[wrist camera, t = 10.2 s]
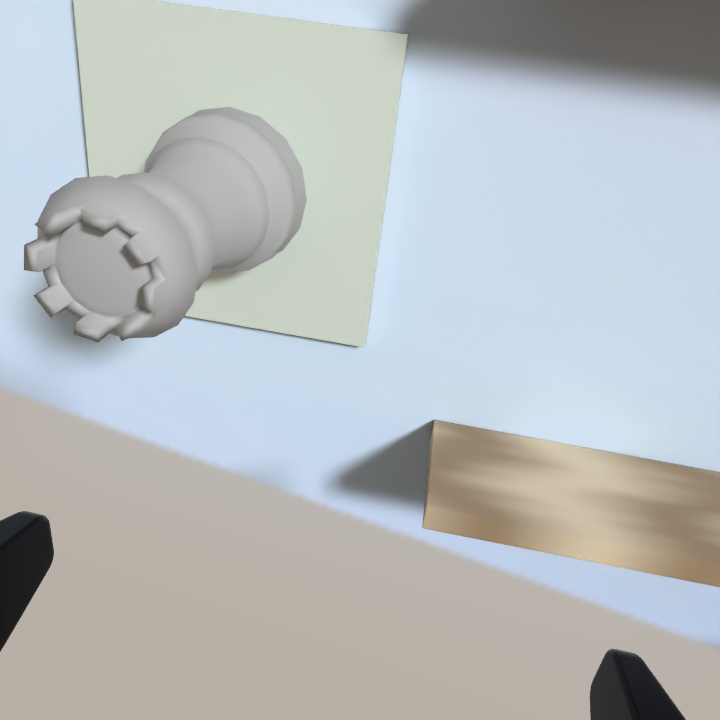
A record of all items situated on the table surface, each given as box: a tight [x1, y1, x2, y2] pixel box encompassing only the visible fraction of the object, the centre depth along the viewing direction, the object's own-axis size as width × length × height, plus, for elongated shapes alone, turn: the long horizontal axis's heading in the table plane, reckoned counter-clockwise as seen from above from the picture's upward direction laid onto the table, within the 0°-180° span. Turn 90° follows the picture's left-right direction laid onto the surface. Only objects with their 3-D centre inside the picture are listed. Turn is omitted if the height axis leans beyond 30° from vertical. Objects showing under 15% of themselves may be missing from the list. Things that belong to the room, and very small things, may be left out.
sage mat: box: [73, 0, 408, 348], centre depth 18 cm, size 9×9×1 cm
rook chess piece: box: [24, 107, 307, 342], centre depth 14 cm, size 4×4×8 cm
